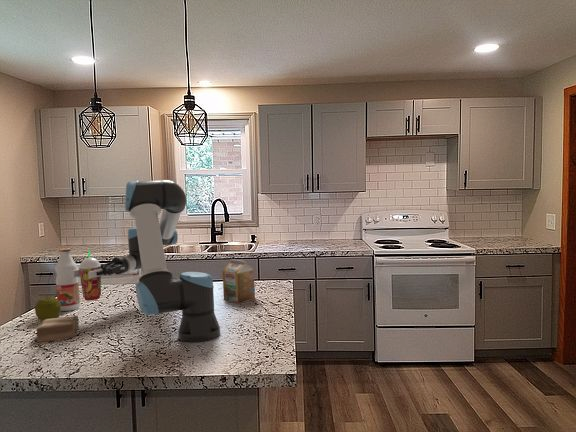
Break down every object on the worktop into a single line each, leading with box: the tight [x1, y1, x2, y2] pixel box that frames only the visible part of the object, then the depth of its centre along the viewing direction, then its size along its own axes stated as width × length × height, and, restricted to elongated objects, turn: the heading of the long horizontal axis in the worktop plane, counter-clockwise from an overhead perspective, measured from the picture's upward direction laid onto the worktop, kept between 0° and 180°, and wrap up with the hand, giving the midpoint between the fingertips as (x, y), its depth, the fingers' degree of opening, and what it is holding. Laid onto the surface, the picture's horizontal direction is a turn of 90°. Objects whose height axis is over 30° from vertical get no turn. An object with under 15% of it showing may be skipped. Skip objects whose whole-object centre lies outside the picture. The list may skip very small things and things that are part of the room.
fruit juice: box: [54, 247, 81, 312], centre depth 206 cm, size 9×9×28 cm
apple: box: [34, 296, 62, 322], centre depth 189 cm, size 10×10×11 cm
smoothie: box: [78, 250, 102, 302], centre depth 183 cm, size 8×8×20 cm
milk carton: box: [222, 258, 256, 304], centre depth 213 cm, size 11×11×19 cm
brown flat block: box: [36, 315, 80, 343], centre depth 170 cm, size 12×12×5 cm
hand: (80, 274), depth 179 cm, fingers closed on smoothie, 8 cm apart
